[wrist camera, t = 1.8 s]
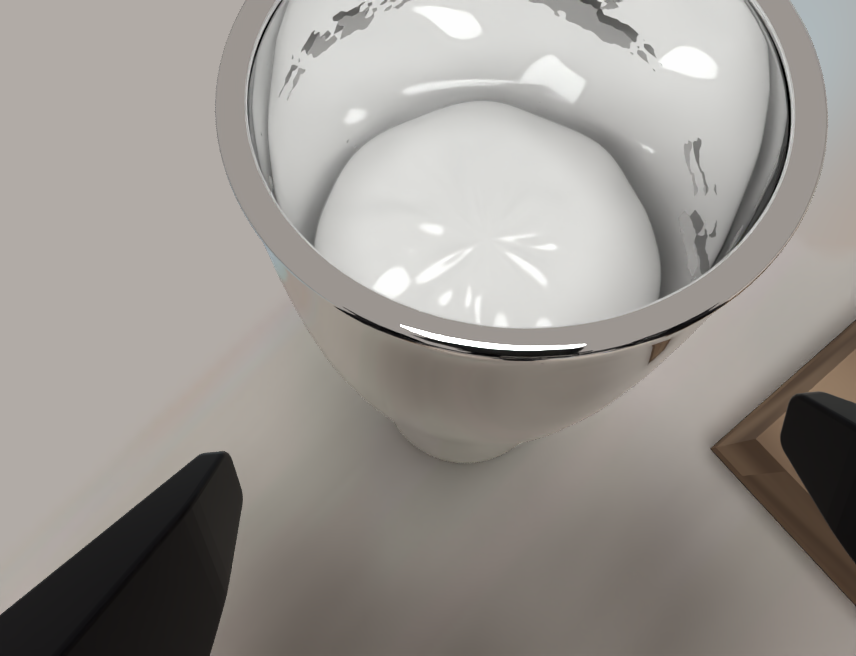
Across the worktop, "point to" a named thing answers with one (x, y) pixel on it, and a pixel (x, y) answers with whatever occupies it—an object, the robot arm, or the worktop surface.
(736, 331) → the worktop surface
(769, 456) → the empty pocket
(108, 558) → the robot arm
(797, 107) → the beer glass
